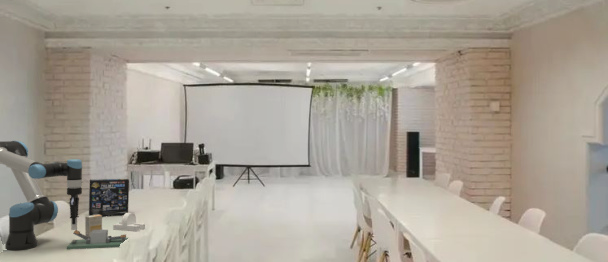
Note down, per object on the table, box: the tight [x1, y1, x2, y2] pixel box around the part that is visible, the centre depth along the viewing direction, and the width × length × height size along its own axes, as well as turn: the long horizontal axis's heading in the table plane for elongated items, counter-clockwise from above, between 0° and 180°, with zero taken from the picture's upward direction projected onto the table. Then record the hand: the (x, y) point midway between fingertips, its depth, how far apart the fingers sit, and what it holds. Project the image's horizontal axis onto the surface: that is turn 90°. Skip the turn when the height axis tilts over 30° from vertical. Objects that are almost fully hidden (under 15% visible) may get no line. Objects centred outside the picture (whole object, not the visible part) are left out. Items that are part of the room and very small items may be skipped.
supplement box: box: [84, 214, 103, 237], centre depth 295 cm, size 8×5×13 cm, turn 141°
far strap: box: [107, 233, 127, 240], centre depth 281 cm, size 10×5×2 cm, turn 104°
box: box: [88, 178, 130, 218], centre depth 363 cm, size 27×7×27 cm, turn 115°
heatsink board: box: [66, 229, 129, 250], centre depth 278 cm, size 30×16×8 cm, turn 104°
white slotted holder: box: [112, 212, 146, 233], centre depth 319 cm, size 10×18×11 cm, turn 73°
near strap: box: [73, 229, 90, 240], centre depth 276 cm, size 10×5×2 cm
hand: (74, 229), depth 275 cm, fingers closed
